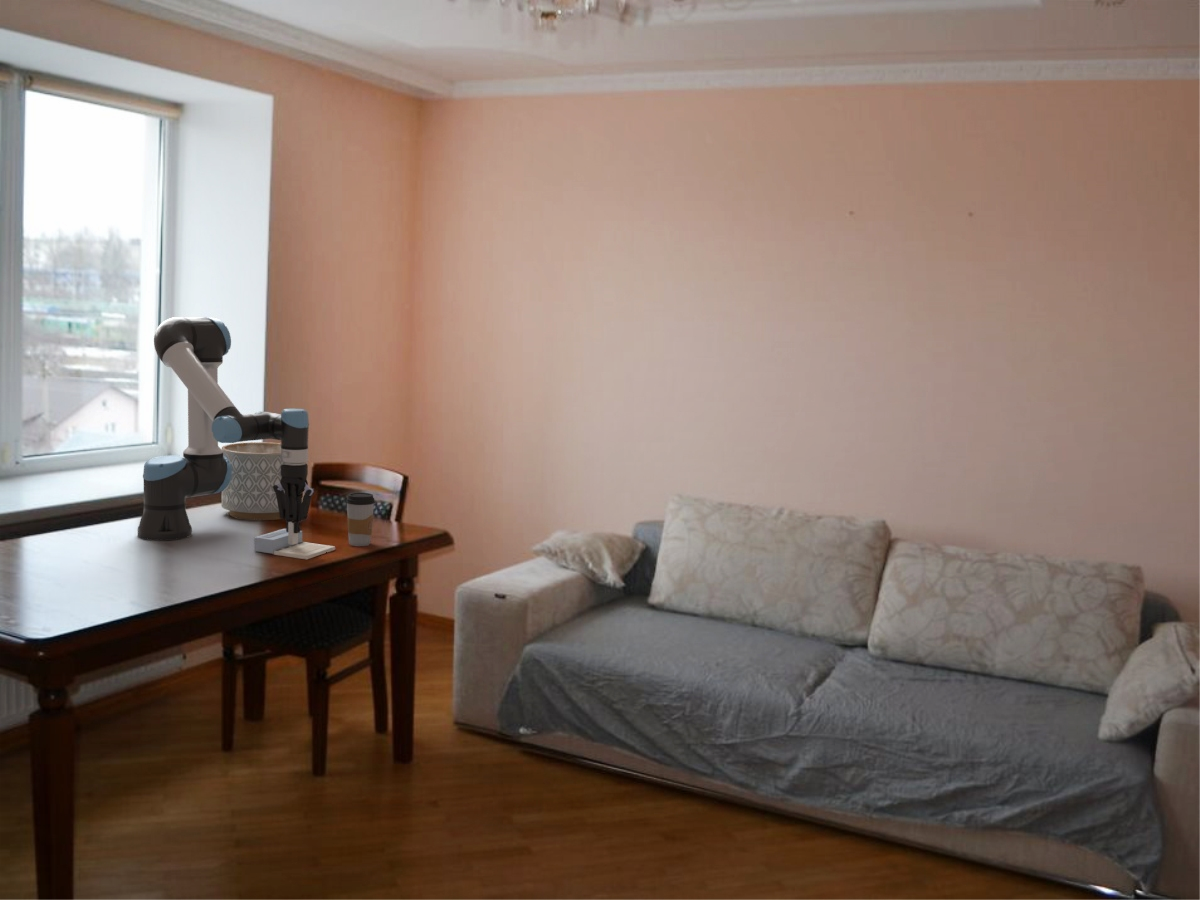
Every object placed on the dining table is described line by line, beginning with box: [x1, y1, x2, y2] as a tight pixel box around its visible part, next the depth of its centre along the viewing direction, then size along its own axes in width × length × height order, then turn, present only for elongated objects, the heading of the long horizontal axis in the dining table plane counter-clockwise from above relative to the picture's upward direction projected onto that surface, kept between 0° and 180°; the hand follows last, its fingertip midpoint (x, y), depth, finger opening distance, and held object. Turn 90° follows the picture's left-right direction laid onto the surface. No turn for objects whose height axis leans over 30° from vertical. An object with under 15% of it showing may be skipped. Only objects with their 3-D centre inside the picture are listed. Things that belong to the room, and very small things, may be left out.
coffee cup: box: [345, 492, 376, 547], centre depth 340 cm, size 8×8×15 cm
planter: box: [221, 441, 285, 521], centre depth 375 cm, size 25×26×22 cm
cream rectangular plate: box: [273, 541, 336, 560], centre depth 328 cm, size 11×14×1 cm
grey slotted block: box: [253, 528, 303, 555], centre depth 330 cm, size 6×14×4 cm, turn 160°
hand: (293, 543), depth 329 cm, fingers closed
